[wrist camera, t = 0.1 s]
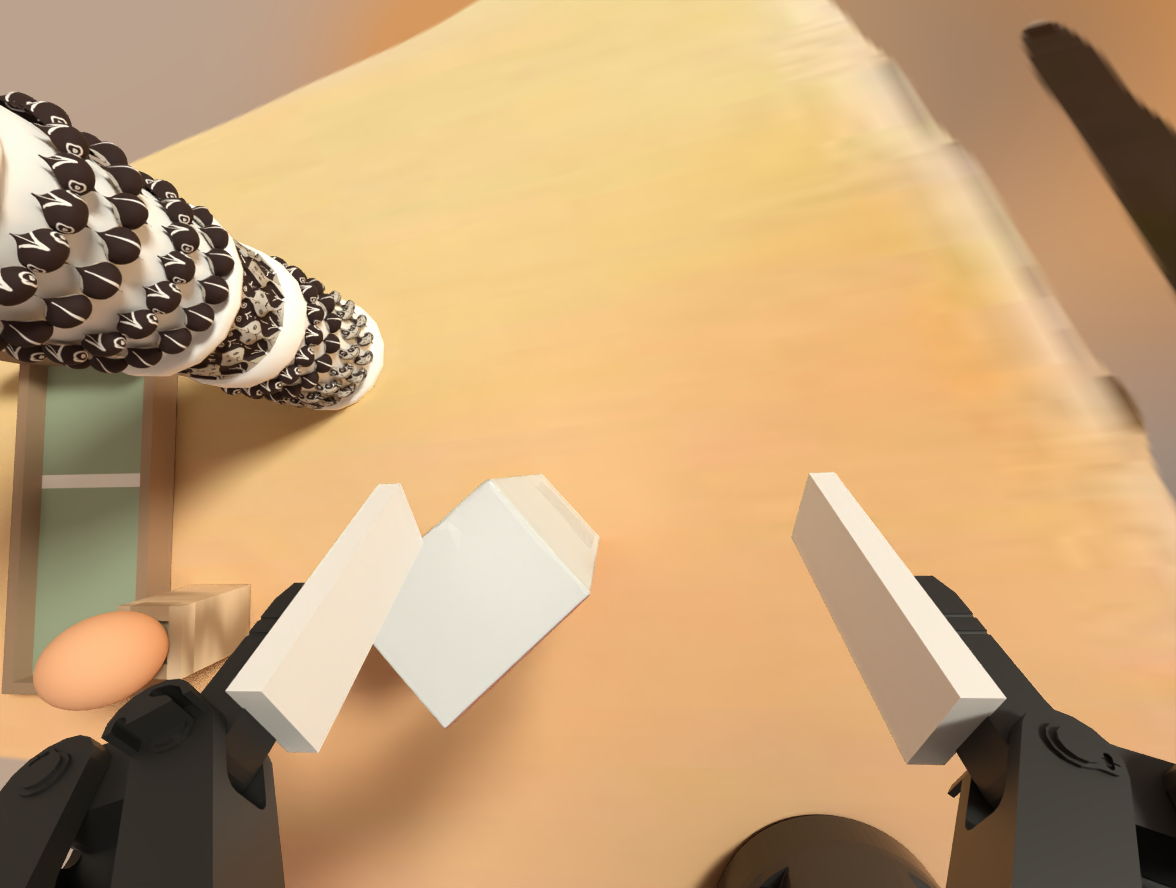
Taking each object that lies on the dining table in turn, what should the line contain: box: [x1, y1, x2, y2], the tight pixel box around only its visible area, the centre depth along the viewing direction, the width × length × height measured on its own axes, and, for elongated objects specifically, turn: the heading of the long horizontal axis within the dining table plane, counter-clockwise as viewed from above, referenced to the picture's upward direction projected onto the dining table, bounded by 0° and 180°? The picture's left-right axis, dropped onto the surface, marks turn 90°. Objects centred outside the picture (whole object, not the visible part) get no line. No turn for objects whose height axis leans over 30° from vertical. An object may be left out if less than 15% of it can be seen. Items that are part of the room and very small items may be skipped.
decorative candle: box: [0, 92, 384, 410], centre depth 19 cm, size 9×9×25 cm
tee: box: [117, 584, 251, 680], centre depth 28 cm, size 4×4×5 cm
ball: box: [33, 611, 169, 711], centre depth 24 cm, size 5×5×5 cm
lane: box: [0, 349, 178, 696], centre depth 29 cm, size 25×11×4 cm, turn 1°
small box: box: [373, 474, 600, 728], centre depth 23 cm, size 8×6×13 cm
